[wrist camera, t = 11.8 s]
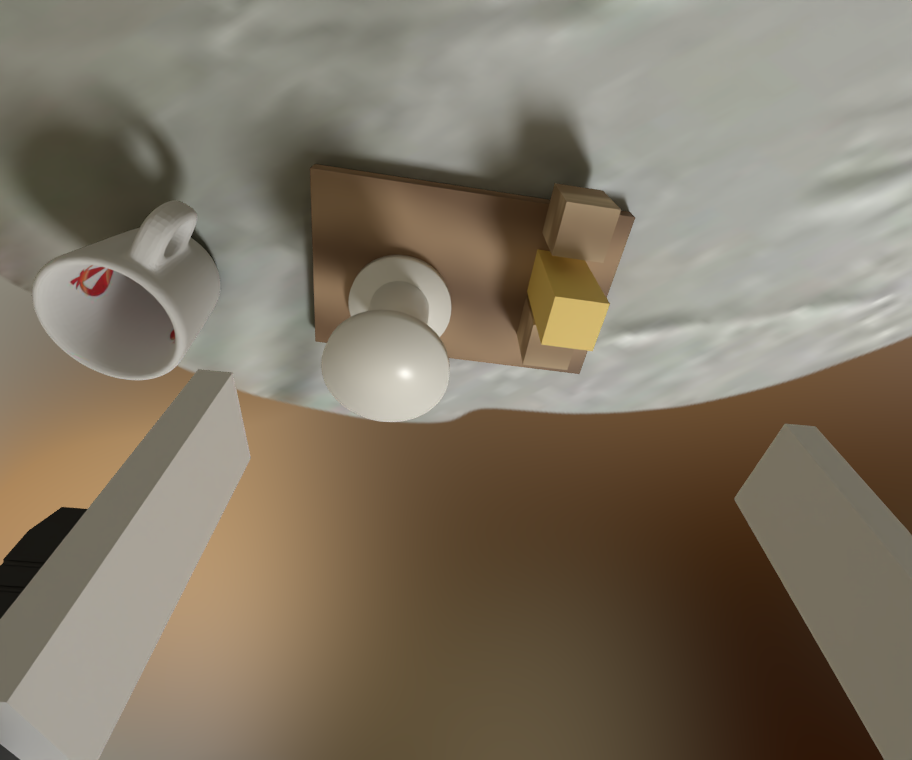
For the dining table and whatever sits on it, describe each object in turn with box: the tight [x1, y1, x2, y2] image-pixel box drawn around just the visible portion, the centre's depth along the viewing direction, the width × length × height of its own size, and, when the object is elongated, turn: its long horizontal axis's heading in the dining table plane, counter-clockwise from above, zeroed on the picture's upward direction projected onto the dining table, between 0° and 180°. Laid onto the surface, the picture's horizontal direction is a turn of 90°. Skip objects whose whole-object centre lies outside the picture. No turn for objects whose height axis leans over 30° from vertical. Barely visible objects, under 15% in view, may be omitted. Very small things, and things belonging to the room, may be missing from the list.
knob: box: [321, 255, 451, 422], centre depth 30 cm, size 7×7×9 cm
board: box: [310, 164, 635, 374], centre depth 31 cm, size 13×20×5 cm, turn 82°
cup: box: [32, 200, 221, 380], centre depth 29 cm, size 11×8×8 cm
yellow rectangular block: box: [527, 249, 610, 351], centre depth 29 cm, size 3×3×7 cm
